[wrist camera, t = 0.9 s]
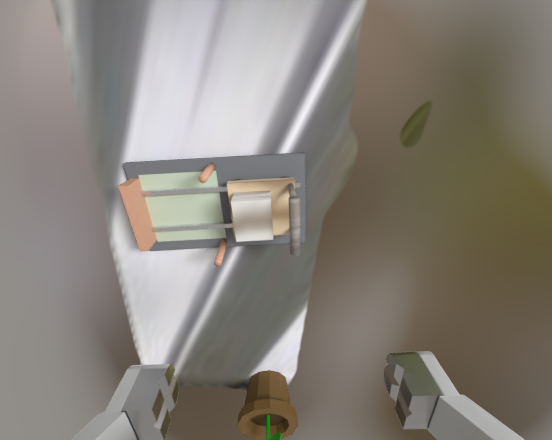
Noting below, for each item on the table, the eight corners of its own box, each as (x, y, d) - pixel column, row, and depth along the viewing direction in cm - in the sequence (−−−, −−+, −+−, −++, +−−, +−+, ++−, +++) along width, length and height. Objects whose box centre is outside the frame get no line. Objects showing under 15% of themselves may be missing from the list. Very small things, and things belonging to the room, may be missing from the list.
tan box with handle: (228, 179, 45) (218, 201, 36) (294, 175, 45) (300, 196, 36) (235, 231, 49) (228, 262, 40) (295, 227, 49) (301, 257, 40)
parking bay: (127, 167, 44) (103, 180, 37) (215, 162, 44) (206, 174, 37) (151, 248, 51) (135, 270, 44) (227, 243, 51) (222, 265, 44)
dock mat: (125, 162, 44) (122, 163, 43) (304, 152, 44) (305, 153, 43) (152, 248, 52) (150, 250, 51) (304, 239, 52) (305, 242, 51)
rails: (136, 190, 45) (134, 192, 44) (299, 180, 45) (299, 182, 45) (148, 229, 49) (146, 232, 48) (299, 221, 49) (300, 223, 48)
